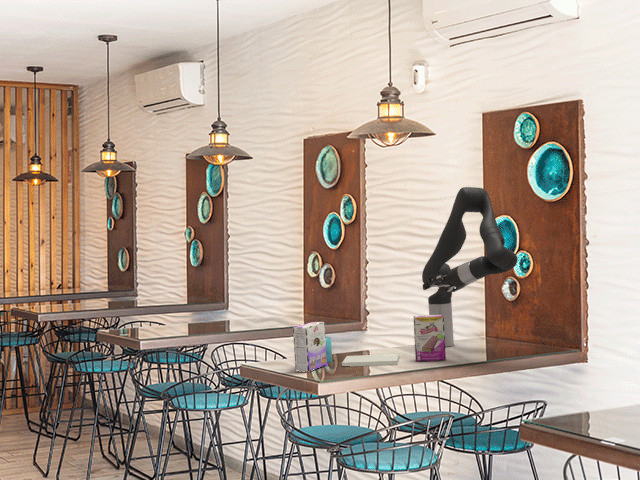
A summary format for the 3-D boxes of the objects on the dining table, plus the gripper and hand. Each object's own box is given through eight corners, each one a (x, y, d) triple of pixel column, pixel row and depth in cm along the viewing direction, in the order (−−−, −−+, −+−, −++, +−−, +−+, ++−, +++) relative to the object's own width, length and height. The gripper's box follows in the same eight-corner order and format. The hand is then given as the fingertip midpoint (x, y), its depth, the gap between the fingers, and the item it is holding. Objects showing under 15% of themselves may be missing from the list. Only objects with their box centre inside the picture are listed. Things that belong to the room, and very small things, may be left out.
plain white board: (347, 359, 315) (346, 356, 315) (399, 357, 312) (399, 354, 312) (342, 366, 301) (342, 362, 301) (397, 364, 298) (396, 360, 298)
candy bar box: (415, 362, 301) (413, 317, 301) (415, 359, 306) (412, 315, 306) (446, 360, 300) (443, 315, 300) (445, 358, 305) (443, 314, 305)
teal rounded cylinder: (315, 360, 319) (314, 337, 319) (333, 359, 318) (332, 336, 318) (313, 363, 312) (311, 339, 312) (331, 362, 311) (329, 338, 311)
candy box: (314, 365, 308) (311, 321, 308) (328, 365, 305) (325, 321, 305) (295, 372, 296) (292, 326, 296) (308, 373, 293) (305, 327, 293)
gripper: (454, 280, 286) (419, 295, 297) (479, 288, 295) (445, 302, 305) (450, 260, 289) (416, 276, 300) (476, 268, 298) (442, 284, 309)
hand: (431, 289), depth 303 cm, fingers open, 8 cm apart
